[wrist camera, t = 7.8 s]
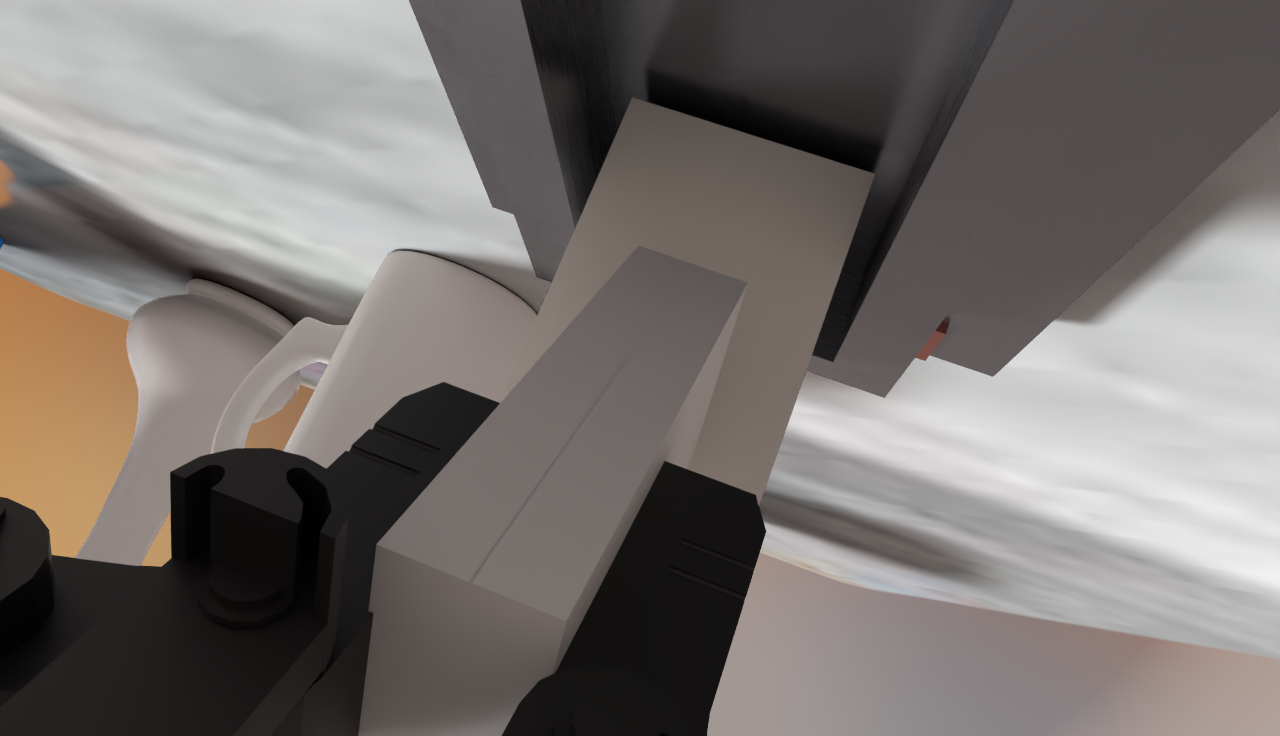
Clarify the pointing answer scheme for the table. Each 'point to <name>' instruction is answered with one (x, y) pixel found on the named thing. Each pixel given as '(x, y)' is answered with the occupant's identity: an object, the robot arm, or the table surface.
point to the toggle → (719, 262)
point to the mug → (388, 353)
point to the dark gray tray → (886, 135)
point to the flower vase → (182, 402)
